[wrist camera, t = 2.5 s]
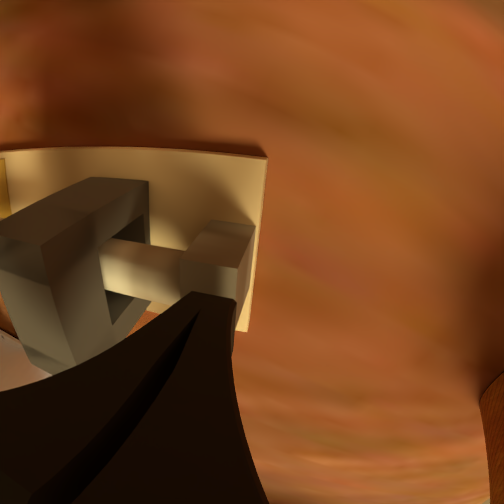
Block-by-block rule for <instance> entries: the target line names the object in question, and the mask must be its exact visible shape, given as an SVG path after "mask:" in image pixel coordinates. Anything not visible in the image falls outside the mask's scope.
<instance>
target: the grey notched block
mask: <svg viewBox="0 0 504 504" xmlns="http://www.w3.org/2000/svg"><path fill="white" fill-rule="evenodd" d="M110 238H115V239H120V240H126V241H132V242H137V243H143V244H149V245H151V241H150V218H149V181H145V180H133V179H120V178H106V177H89V178H86V179H84V180H82V181H80V182H77V183H75V184H73V185H71V186H68V187H66V188H64V189H62V190H60V191H57V192H55V193H53V194H51V195H49V196H47V197H45V198H43V199H41V200H39V201H37V202H35V203H33V204H31V205H29V206H27V207H25V208H23V209H21V210H19V211H18V212H16V213H14V214H12V215H10V216H8V217H7V218H5V219H3V220H1V221H0V292H1V295H2V298H3V300H4V303H5V306H6V308H7V311H8V314H9V316H10V319H11V321H12V323H13V326H14V328H15V331H16V333H17V335H18V337H19V340H20V342H21V344H22V346H23V348H24V350H25V353H26V355H27V357H28V359H29V361H30V363H31V364H32V365H34V366H36V367H38V368H40V369H42V370H44V371H45V372H47V373H49V374H51V375H55V374H57V373H60V372H62V371H65V370H67V369H70V368H72V367H74V366H76V365H79V364H81V363H83V362H85V361H87V360H89V359H91V358H93V357H95V356H97V355H98V354H100V353H102V352H104V351H106V350H107V349H109V348H111V347H112V346H114V345H116V344H117V343H119V342H120V341H122V340H123V339H125V338H126V336H127V335H128V334H129V332H130V331H131V329H132V328H133V327H134V325H135V324H136V322H137V321H138V320H139V318H140V317H141V316H142V314H143V313H144V311H145V310H146V309H147V307H148V306H149V305H150V303H151V302H152V301H149V300H145V299H141V298H137V297H133V296H129V295H125V294H121V293H117V292H113V291H109V290H106V289H104V283H103V278H102V272H101V266H100V259H99V253H98V247H99V246H101V245H102V244H103V243H105V242H106V241H107V240H108V239H110Z"/></svg>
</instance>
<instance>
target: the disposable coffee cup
mask: <svg viewBox="0 0 504 504" xmlns="http://www.w3.org/2000/svg"><path fill="white" fill-rule="evenodd" d="M479 406H480V412H481V417H482V422H483V429H484V435H485V442H486V451H487V460H488V469H489V483H490V504H504V372H503V373H502V374H501V375H500V376H499V377H498V378H497V379H496V380H495V381H494V382H493V383H492V384H491V385H490V386H489V387H488V389H487V390H486V391H485V393H484V394H483V396H482V398H481V400H480V405H479Z"/></svg>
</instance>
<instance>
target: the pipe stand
mask: <svg viewBox="0 0 504 504" xmlns="http://www.w3.org/2000/svg"><path fill="white" fill-rule="evenodd" d="M267 163H268V158H267V157H259V156H250V155H241V154H232V153H222V152H211V151H199V150H186V149H170V148H149V147H102V146H98V147H52V148H33V149H18V150H6V151H0V221H1V220H3V219H5V218H7V217H8V216H10V215H12V214H14V213H16V212H18V211H19V210H21V209H23V208H25V207H27V206H29V205H31V204H33V203H35V202H37V201H39V200H41V199H43V198H45V197H47V196H49V195H51V194H53V193H55V192H57V191H60V190H62V189H64V188H66V187H68V186H71V185H73V184H75V183H77V182H80V181H82V180H84V179H86V178H89V177H106V178H120V179H133V180H145V181H149V218H150V241H151V245H149V244H143V243H137V242H132V241H126V240H120V239H115V238H110V239H108V240H107V241H106V242H105V243H103V244H102V245H101V246H99V247H98V253H99V259H100V266H101V272H102V278H103V283H104V289H106V290H109V291H113V292H117V293H121V294H125V295H129V296H133V297H137V298H141V299H145V300H149V301H152V302H151V303H150V305H149V306H148V307H147V309H146V310H147V311H151V312H155V313H160V314H161V313H163V312H164V311H165V310H167V309H168V308H169V307H171V306H172V305H173V304H175V303H176V302H177V301H179V300H180V299H181V298H183V297H184V296H185V295H187V294H188V293H189V292H191V291H196V292H201V293H206V294H211V295H216V296H221V297H227V298H232V299H234V300H235V301H236V302H237V309H236V320H235V330H238V331H243V332H247V330H248V326H249V320H250V312H251V303H252V295H253V286H254V277H255V269H256V260H257V251H258V243H259V234H260V225H261V216H262V207H263V199H264V190H265V181H266V172H267Z"/></svg>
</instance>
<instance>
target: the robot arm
mask: <svg viewBox="0 0 504 504" xmlns="http://www.w3.org/2000/svg"><path fill="white" fill-rule="evenodd" d="M236 309H237V302H236V301H235V300H234V299H232V298H227V297H221V296H216V295H211V294H206V293H201V292H196V291H191V292H189V293H188V294H187V295H185V296H184V297H183V298H181V299H180V300H179V301H177V302H176V303H175V304H173V305H172V306H171V307H169V308H168V309H167V310H165V311H164V312H163V313H161V314H160V315H159V316H157V317H156V318H154V319H153V320H152V321H150V322H149V323H147V324H146V325H145V326H143V327H142V328H140V329H139V330H137V331H136V332H134V333H133V334H131V335H130V336H128V337H127V338H125V339H123V340H122V341H120V342H119V343H117V344H116V345H114V346H112V347H111V348H109V349H107V350H106V351H104V352H102V353H100V354H98V355H97V356H95V357H93V358H91V359H89V360H87V361H85V362H83V363H81V364H79V365H76V366H74V367H72V368H70V369H67V370H65V371H62V372H60V373H57V374H55V375H51V374H49V373H47V372H45V371H44V370H42V369H40V368H38V367H36V366H34V365H32V364H31V363H30V361H29V359H28V357H27V355H26V353H25V350H24V348H23V346H22V344H21V342H20V340H18V339H16V338H14V337H13V336H11V335H9V334H7V333H5V332H4V331H2V330H0V504H269V502H268V500H267V497H266V495H265V492H264V490H263V487H262V485H261V482H260V480H259V477H258V474H257V471H256V468H255V465H254V462H253V459H252V456H251V453H250V450H249V447H248V443H247V440H246V437H245V433H244V429H243V425H242V421H241V417H240V412H239V408H238V403H237V398H236V392H235V386H234V378H233V370H232V359H231V356H232V352H233V345H234V332H235V320H236Z"/></svg>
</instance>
